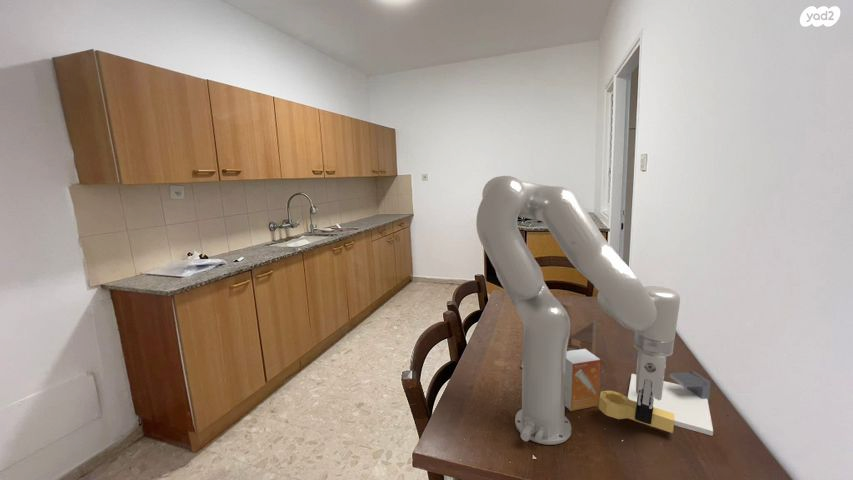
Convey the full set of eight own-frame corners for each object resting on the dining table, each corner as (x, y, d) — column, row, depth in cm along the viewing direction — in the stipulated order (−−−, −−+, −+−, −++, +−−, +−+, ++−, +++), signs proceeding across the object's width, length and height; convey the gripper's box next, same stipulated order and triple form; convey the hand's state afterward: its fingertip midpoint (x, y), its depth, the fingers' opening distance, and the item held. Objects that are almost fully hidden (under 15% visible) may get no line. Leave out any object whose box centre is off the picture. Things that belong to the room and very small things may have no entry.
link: (597, 412, 85) (598, 400, 84) (601, 398, 90) (602, 387, 90) (672, 437, 77) (674, 425, 76) (672, 421, 82) (674, 409, 82)
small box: (570, 412, 89) (572, 363, 87) (556, 397, 95) (557, 352, 93) (598, 406, 91) (601, 359, 89) (582, 392, 97) (584, 347, 95)
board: (712, 436, 80) (713, 431, 79) (625, 411, 89) (626, 406, 89) (705, 394, 94) (705, 390, 94) (631, 377, 104) (631, 373, 103)
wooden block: (591, 365, 111) (594, 310, 108) (557, 355, 118) (558, 303, 115) (595, 360, 114) (597, 306, 111) (561, 351, 121) (562, 300, 118)
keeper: (693, 391, 96) (694, 371, 95) (708, 402, 91) (710, 381, 90) (668, 393, 96) (669, 373, 95) (682, 404, 91) (684, 383, 90)
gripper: (674, 362, 71) (662, 445, 74) (672, 333, 84) (662, 404, 87) (630, 351, 75) (621, 430, 78) (636, 326, 88) (627, 394, 91)
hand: (643, 416), depth 83 cm, fingers closed on link, 3 cm apart
